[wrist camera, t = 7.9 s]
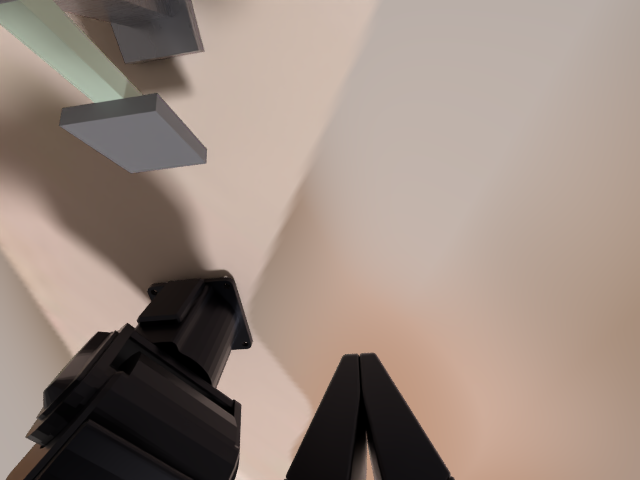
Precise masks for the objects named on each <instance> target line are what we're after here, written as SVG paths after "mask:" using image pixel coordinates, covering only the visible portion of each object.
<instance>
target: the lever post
mask: <svg viewBox="0 0 640 480" xmlns="http://www.w3.org/2000/svg"><path fill="white" fill-rule="evenodd" d="M53 1H54V2H55V3H56V4H57V5H58V6H59V7H60V8H61V10H62V11H64V12H68V13H72V14H77V15H81V16H85V17H90V18H94V19H98V20H103V21H107V22H110V23H111V26H112V28H113V31H114V34H115V37H116V40H117V42H118V45H119V48H120V51H121V54H122V56H123V59H124V62H125V63H130V64H135V63H141V62H147V61H152V60H158V59H164V58H170V57H176V56H181V55H187V54H193V53H199V52H204V48H203V44H202V40H201V37H200V33H199V29H198V25H197V21H196V17H195V13H194V9H193V6H192V2H191V0H53Z"/></svg>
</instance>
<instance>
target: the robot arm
mask: <svg viewBox="0 0 640 480" xmlns="http://www.w3.org/2000/svg"><path fill="white" fill-rule="evenodd" d="M225 283H226V284H229V285H230V286H227V285H225ZM154 290H156V291H157V292H156V291H154ZM148 294H149V296H150V299H151V303H150V304H149V305H148V306H147V307H146V309H145V310H144V311H143V312H142V313H141V315H140V316H139V317H138V319H137V322H138V325H137V326H136V328H134V327H132V326H131V325H130V324H128V323H126V324H125V325H124V326H123V327H122V328H121V329H120V330H119V331H118V332H117V331H116V330H115V331H114V332H111V333H109V332H97V333H96V334H95V335H94V336H93V337H92V338H91V339H90V340H89V341H88V342H87V343H86V344H85V345H84V346H83V348H82V349H81V350H80V351H79V352H78V353H77V354H76V355H75V356H74V357H73V358H72V359H71V360H70V361H69V363H68V364H67V365H66V366H65V367H64V368H63V369H62V371H61V372H60V373H59V374H58V375H57V376H56V378H55V379H54V380H53V381H52V382H51V384H50V385H49V386H48V387H47V388H46V389H45V391H44V392H43V398H44V399H43V408H42V410H41V411H40V413H39V414H38V416H37V420H36V422H35V423H34V425H33V426H32V428H31V429H30V431H29V432H28V433H27V435H26V438H28V439H30V440H32V441H33V442H36V444H35V445H34V446H33V447H32V449H31V450H30V451H29V452H28V453H27V454H26V456H25V457H24V458H23V459H22V460H21V461H20V462H19V463H18V465H17V466H16V467H15V468H14V469H13V470H12V472H11V473H10V474H9V475H8V477H7V478H6V480H235V477H236V474H237V470H238V465H239V455H240V426H241V404H240V403H239V402H237V401H236V400H232V399H230V398H229V397H227V396H226V395H225V394H223V393H222V392H220V391H219V390H218V389H216V388H217V385H218V382H219V380H220V377H221V375H222V372H223V370H224V367H225V365H226V362H227V360H228V357H229V355H230V352H231V350H237V349H248V348H250V347H251V345H252V342H253V340H252V337H251V333H250V330H249V327H248V324H247V320H246V317H245V314H244V311H243V307H242V304H241V301H240V298H239V294H238V291H237V288H236V284H235V282H234V280H233V279H231V278H228V277H225V278H214V279H189V280H177V281H169V282H167V283H158V284H152V285H151V286H150V287H149V289H148ZM245 342H247V343H245ZM366 433H367V435H366ZM367 442H368V448H369V455H370V460H371V465H372V470H373V475H374V480H455V479H454V478H453V477H450V472H449V470H448V468H447V467H446V465H445V464H444V462H443V460H442V459H441V457H440V456H439V454H438V452H437V451H436V449H435V448H434V446H433V445H432V443H431V441H430V440H429V438H428V437H427V435H426V433H425V432H424V430H423V429H422V427H421V425H420V424H419V422H418V421H417V419H416V417H415V416H414V414H413V413H412V411H411V409H410V408H409V406H408V405H407V403H406V401H405V400H404V398H403V397H402V395H401V393H400V392H399V390H398V389H397V387H396V386H395V384H394V382H393V381H392V379H391V377H390V376H389V374H388V373H387V371H386V369H385V368H384V366H383V365H382V363H381V361H380V360H379V358H378V357H377V355H376V354H375V353H362V354H360V357H359V355H358V354H345V355H343V357H342V359H341V361H340V363H339V365H338V367H337V369H336V371H335V373H334V376H333V378H332V380H331V382H330V384H329V386H328V388H327V391H326V392H325V395H324V397H323V399H322V401H321V403H320V405H319V407H318V409H317V411H316V413H315V416H314V418H313V420H312V422H311V424H310V426H309V428H308V430H307V432H306V434H305V437H304V439H303V441H302V443H301V445H300V447H299V449H298V452H297V453H296V456H295V458H294V460H293V462H292V464H291V466H290V468H289V470H288V472H287V474H286V478H287V479H284V480H366V470H367Z"/></svg>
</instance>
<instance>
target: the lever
mask: <svg viewBox="0 0 640 480" xmlns="http://www.w3.org/2000/svg"><path fill="white" fill-rule="evenodd" d="M0 25H2V26H3V27H4V28H5V29H6V30H8V31H9V32H10V33H11V34H12V35H14V36H15V37H16V38H17V39H18V40H20V41H21V42H22V43H23V44H24V45H26V46H27V47H28V48H29V49H30V50H32V51H33V52H34V53H35V54H36V55H38V56H39V57H40V58H41V59H42V60H44V61H45V62H46V63H47V64H48V65H50V66H51V67H52V68H53V69H54V70H56V71H57V72H58V73H59V74H61V75H62V76H63V77H64V78H65V79H67V80H68V81H69V82H70V83H71V84H73V85H74V86H75V87H76V88H77V89H79V90H80V91H81V92H82V93H83V94H85V95H86V96H87V97H88V98H89V99H91V100H92V101H93V102H94V103H92V104H86V105H79V106H73V107H67V108H62V113H61V118H60V124H59V126H60V127H62V128H63V129H65V130H66V131H68V132H69V133H71V134H72V135H74V136H75V137H77V138H78V139H80V140H81V141H83V142H84V143H86V144H87V145H89V146H90V147H92V148H93V149H95V150H96V151H98V152H99V153H101V154H102V155H104V156H106V157H107V158H109V159H110V160H112V161H113V162H115V163H116V164H118V165H119V166H121V167H122V168H124V169H125V170H127V171H128V172H130V173H137V172H145V171H152V170H160V169H168V168H175V167H183V166H190V165H198V164H205V163H206V158H207V149H206V147H205V146H204V145H203V144H202V143H201V142H200V141H199V140H198V138H197V137H196V136H195V135H194V134H193V133H192V132H191V131H190V129H189V128H188V127H187V126H186V125H185V124H184V123H183V121H182V120H181V119H180V118H179V117H178V116H177V115H176V114H175V112H174V111H173V110H172V109H171V108H170V107H169V106H168V105H167V103H166V102H165V101H164V100H163V99H162V98H161V97H160V95H159V94H158V93H154V94H148V95H143V94H142V93H141V92H140V91H139V90H138V89H137V88H136V87H135V86H134V85H133V84H132V83H131V82H130V81H129V80H128V79H127V78H126V77H125V76H124V75H123V73H122V72H121V71H120V70H119V69H118V68H117V67H116V66H115V65H114V64H113V63H112V62H111V61H110V60H109V59H108V58H107V57H106V56H105V55H104V54H103V53H102V51H101V50H100V49H99V48H98V47H97V46H96V45H95V44H94V43H93V42H92V41H91V40H90V39H89V38H88V37H87V36H86V35H85V34H84V33H83V32H82V31H81V29H80V28H79V27H78V26H77V25H76V24H75V23H74V22H73V21H72V20H71V19H70V18H69V17H68V16H67V15H66V14H65V13H64V12H63V11H62V10H61V8H60V7H59V6H58V5H57V4H56V3H55V2H54V1H53V0H0Z"/></svg>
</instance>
